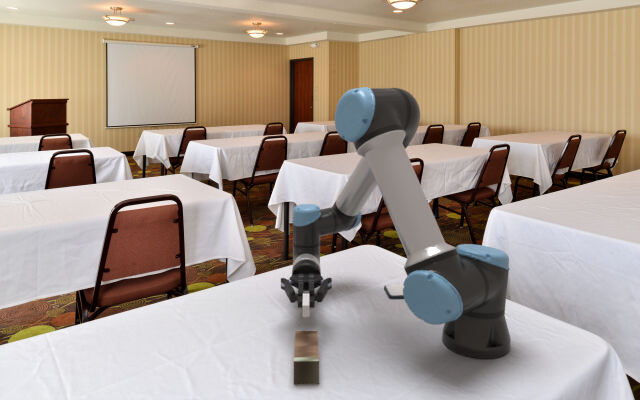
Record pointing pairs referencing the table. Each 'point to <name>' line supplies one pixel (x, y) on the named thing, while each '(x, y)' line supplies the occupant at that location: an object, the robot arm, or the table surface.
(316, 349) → the walnut block
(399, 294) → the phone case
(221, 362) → the table surface
